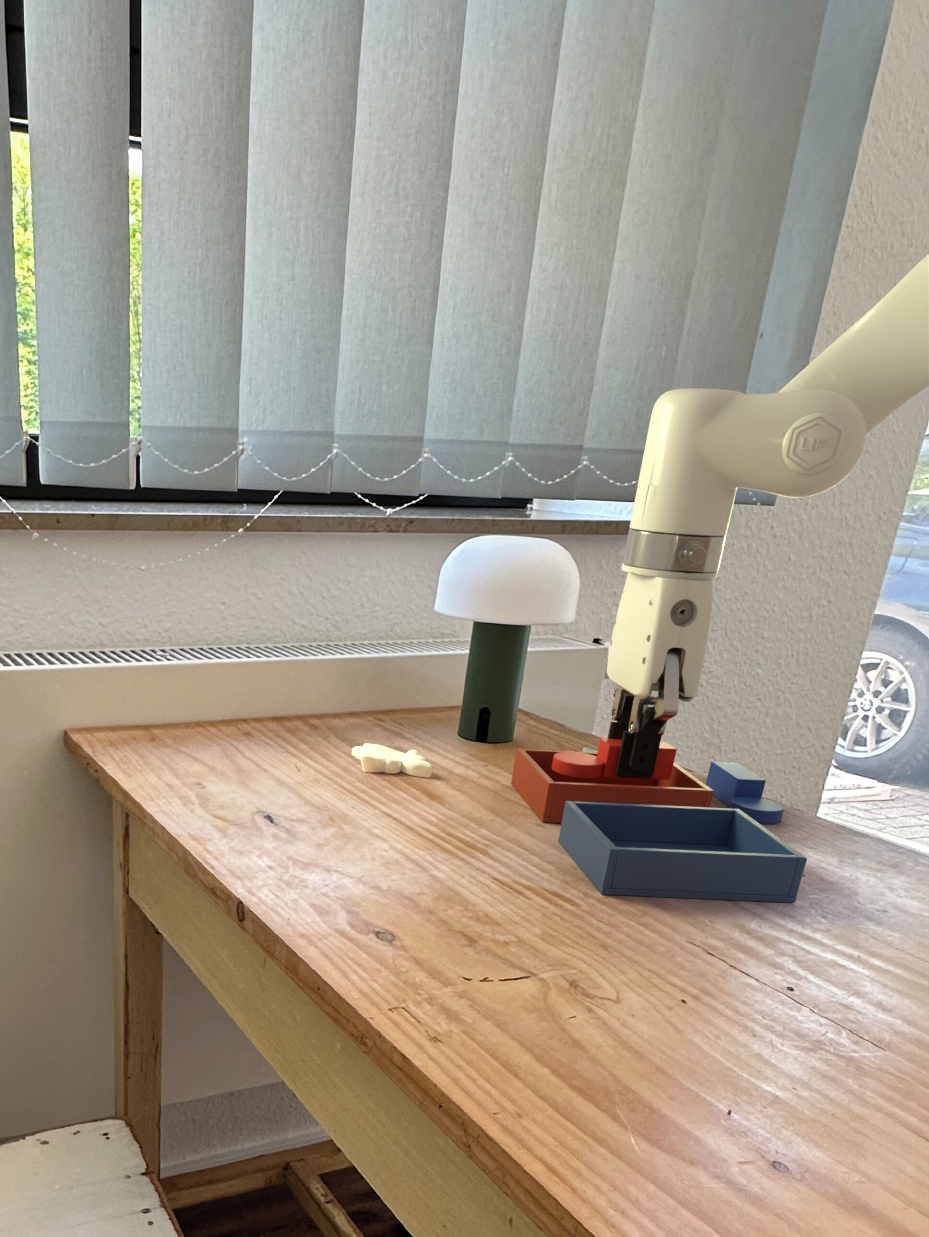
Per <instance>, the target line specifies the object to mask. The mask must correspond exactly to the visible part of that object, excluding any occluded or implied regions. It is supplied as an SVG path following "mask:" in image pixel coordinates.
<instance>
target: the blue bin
mask: <svg viewBox="0 0 929 1237" xmlns="http://www.w3.org/2000/svg"><path fill="white" fill-rule="evenodd" d="M559 830H560V831H559V835H558V840H557V843H559V845H560V846H561V847H562V848H563V849H564V850H565V852H566V853H567V854H568V855H569V857H570V858H571V859H572V860H573V861H574V863H575V864H576V865H577V866H578V867H579V869H580V870H581V872H583V874H584V875H585V876H586V877H587V879H588V880H589V881H590V883H591V884H592V885H593V886H594V888H596V889H597V891H598V892H599V894H600V895H606V896H607V895H608V896H631V897H652V898H673V899H675V898H676V899H697V900H723V901H742V902H743V901H745V902H766V903H787V904H788V903H791V904H793V903H796V900H797V895H798V892H799V888H800V885H801V882H802V877H803V874H804V872H805V867H806V864H807V860H808V858H807V857H806V856H805V855H803V853H800V851H798V850H797V849H795V848H794V847H792V846H791V845H790V844H788V843H787V842H785V841H784V840H783V839H781V838H780V837H779V836H777V835H776V834H774V833H773V832H772V831H770V830H769V829H768V828H766V827H765V826H764V825H762V824H761V823H758V822H756V821H755V820H754V819H752V818H751V817H749V816H748V815H747V814H745V813H744V812H743V811H741V810H740V809H730V808H728V807H727V808H726V807H710V808H708V807H687V806H665V805H644V804H622V803H600V802H579V801H566V802H565V807H564V812H563V818H562V823H560V829H559Z"/></svg>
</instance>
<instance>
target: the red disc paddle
mask: <svg viewBox="0 0 929 1237" xmlns="http://www.w3.org/2000/svg"><path fill="white" fill-rule="evenodd" d="M621 741H622V739H608V738H602V737H601V738H599V744H598V748H597V750H598V753H597V756H594V755H590V754H585V753H578V752H560V753H556V754H555V755H554V757H553V762H552V770H553V771H555V772H557V773H559V774H562V775H566V776H570V777H577V778H596V777H600V776H601V775H603V776H605V777H619V776H617V775H616V773H615V770H616V765H617V761H618V756H619V751H620V746H621ZM677 751H678V750H677V748H676V747H675V746H673V745H672V744H670V743H668V742H667V741H662V740H661V741H660V746H659V750H658V755H657V759H656V764H655V769H654V773H653V776H652V777H651V778H649V779H665V780H670V777H671V772H672V768H673V764H674V762H675V759H676V755H677Z"/></svg>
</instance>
